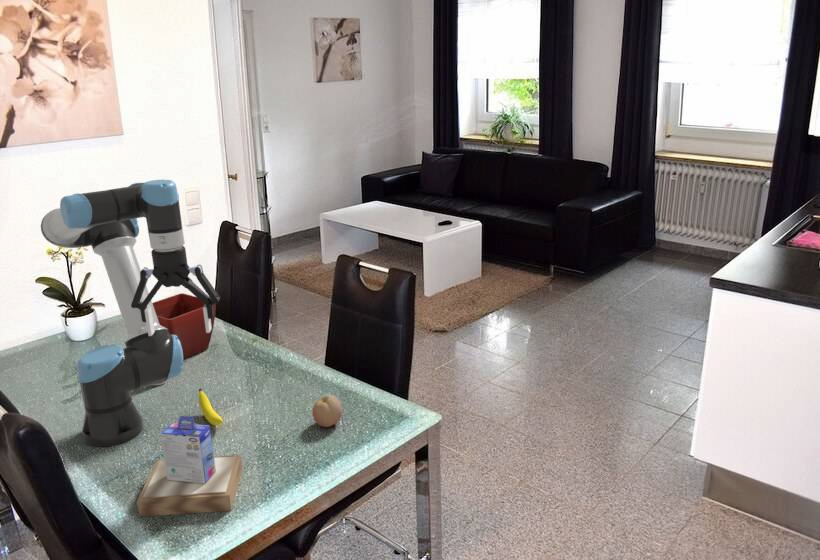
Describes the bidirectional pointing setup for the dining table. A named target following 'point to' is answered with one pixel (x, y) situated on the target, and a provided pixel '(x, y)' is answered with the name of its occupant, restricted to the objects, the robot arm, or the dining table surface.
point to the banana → (209, 410)
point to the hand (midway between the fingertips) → (180, 332)
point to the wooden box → (191, 490)
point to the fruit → (327, 411)
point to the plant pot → (185, 322)
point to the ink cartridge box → (188, 451)
